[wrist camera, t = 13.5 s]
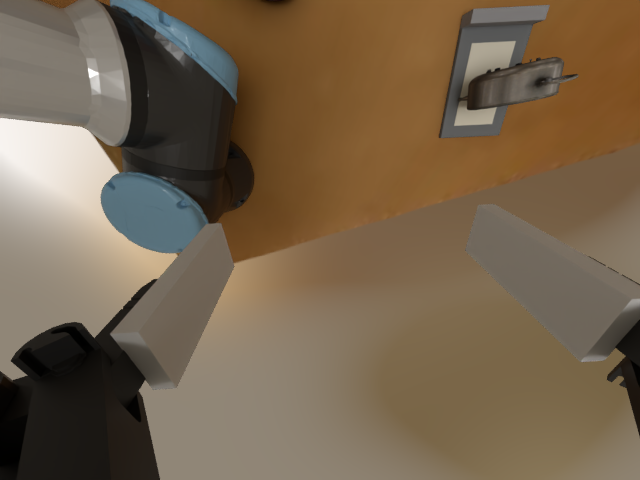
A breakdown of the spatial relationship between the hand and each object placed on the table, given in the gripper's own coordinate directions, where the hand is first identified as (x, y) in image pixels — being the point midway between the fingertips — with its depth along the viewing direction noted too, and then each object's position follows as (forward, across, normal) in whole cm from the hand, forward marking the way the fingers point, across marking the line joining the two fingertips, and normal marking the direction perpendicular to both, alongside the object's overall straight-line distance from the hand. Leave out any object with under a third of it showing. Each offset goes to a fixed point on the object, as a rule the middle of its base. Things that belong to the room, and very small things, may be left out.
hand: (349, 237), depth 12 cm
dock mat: (+38, +28, +7) cm, 48 cm away
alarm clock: (+37, +28, +7) cm, 47 cm away
